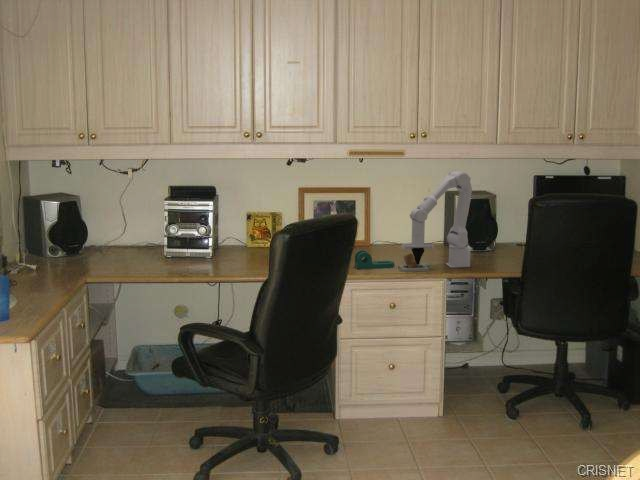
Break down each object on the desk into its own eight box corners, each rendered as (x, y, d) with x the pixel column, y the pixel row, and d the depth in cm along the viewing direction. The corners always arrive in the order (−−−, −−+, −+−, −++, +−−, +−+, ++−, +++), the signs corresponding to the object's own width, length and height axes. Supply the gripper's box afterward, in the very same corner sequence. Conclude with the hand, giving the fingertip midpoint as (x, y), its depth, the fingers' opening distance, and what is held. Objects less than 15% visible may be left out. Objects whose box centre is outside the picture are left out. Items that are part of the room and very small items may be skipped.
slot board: (423, 266, 323) (423, 264, 323) (428, 271, 314) (429, 268, 314) (398, 267, 322) (398, 264, 322) (402, 271, 313) (403, 269, 313)
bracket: (357, 269, 318) (357, 252, 317) (354, 266, 325) (354, 250, 324) (395, 268, 321) (395, 251, 320) (392, 265, 328) (392, 248, 326)
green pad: (428, 263, 330) (428, 262, 330) (431, 266, 324) (431, 265, 324) (416, 263, 329) (416, 262, 329) (419, 266, 323) (419, 265, 323)
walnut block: (415, 264, 320) (411, 253, 319) (417, 266, 316) (413, 255, 315) (407, 268, 320) (403, 256, 319) (409, 270, 316) (405, 258, 315)
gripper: (431, 232, 320) (430, 261, 323) (400, 233, 318) (399, 262, 321) (435, 235, 313) (434, 265, 316) (404, 236, 312) (403, 266, 314)
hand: (417, 264), depth 318 cm, fingers closed
